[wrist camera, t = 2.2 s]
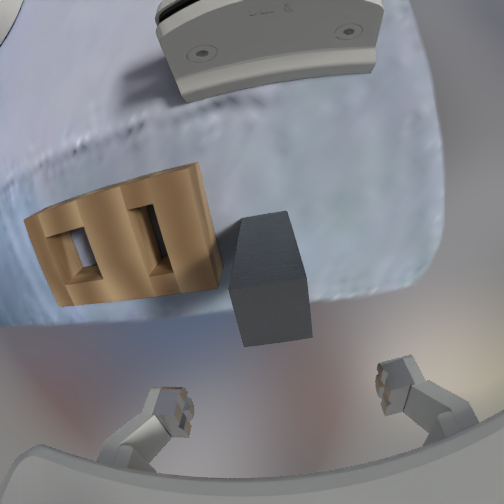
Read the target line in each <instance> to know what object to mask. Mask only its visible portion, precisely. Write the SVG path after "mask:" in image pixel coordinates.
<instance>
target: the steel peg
mask: <svg viewBox="0 0 504 504" xmlns="http://www.w3.org/2000/svg"><path fill="white" fill-rule="evenodd" d="M229 293H230V297H231V301H232V305H233V308H234V312H235V315H236V319H237V323H238V327H239V331H240V334H241V338H242V341H243V345H244V347H248V346H257V345H264V344H272V343H280V342H287V341H294V340H300V339H306V338H312V325H311V314H310V304H309V295H308V285H307V277H306V274H305V270H304V267H303V263H302V260H301V256H300V253H299V249H298V246H297V242H296V239H295V236H294V232H293V229H292V225H291V222H290V219H289V216H288V212H287V211H282V212H276V213H269V214H263V215H258V216H252V217H246V218H242V220H241V226H240V231H239V236H238V241H237V247H236V252H235V257H234V263H233V268H232V274H231V279H230V284H229Z"/></svg>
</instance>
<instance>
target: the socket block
mask: <svg viewBox="0 0 504 504" xmlns="http://www.w3.org/2000/svg"><path fill="white" fill-rule="evenodd" d="M150 204H153V206H154V209H155V213H156V216H157V220H158V223H159V227H160V230H161V233H162V237H163V240H164V243H165V246H166V250H167V253H168V256H165V257H162V255H161V252H160V249H159V246H158V243H157V240H156V236H155V233H154V230H153V227H152V223H151V220H150V216H149V213H148V209H147V206H146V205H150ZM24 223H25V226H26V229H27V232H28V234H29V237H30V240H31V243H32V245H33V248H34V251H35V253H36V256H37V258H38V261H39V263H40V266H41V268H42V270H43V273H44V275H45V277H46V279H47V282H48V284H49V286H50V288H51V290H52V293H53V295H54V297H55V299H56V301H57V303H58V305H59V307H64V306H74V305H84V304H94V303H104V302H113V301H122V300H131V299H140V298H148V297H156V296H164V295H172V294H180V293H188V292H196V291H203V290H210V289H218V286H219V282H220V278H221V274H222V270H223V264H222V260H221V256H220V252H219V248H218V244H217V240H216V236H215V232H214V227H213V223H212V219H211V215H210V211H209V207H208V202H207V198H206V194H205V190H204V185H203V181H202V177H201V172H200V168H199V163H198V162H196V163H191V164H187V165H183V166H179V167H175V168H171V169H167V170H163V171H159V172H155V173H151V174H148V175H144V176H141V177H137V178H134V179H130V180H127V181H123V182H120V183H117V184H113V185H110V186H107V187H104V188H101V189H97V190H94V191H91V192H88V193H85V194H82V195H80V196H77V197H74V198H71V199H68V200H65V201H63V202H60V203H57V204H54V205H52V206H49V207H47V208H44V209H43V210H41V211H39V212H37V213H35V214H33V215H31V216H29V217H28V218H26V219H24ZM80 227H84V229H85V231H86V234H87V237H88V240H89V243H90V246H91V248H92V251H93V254H94V256H95V259H96V262H97V264H98V265H93V266H88V267H83V265H82V263H81V260H80V258H79V255H78V252H77V250H76V247H75V244H74V242H73V239H72V236H71V233H70V230H73V229H77V228H80Z"/></svg>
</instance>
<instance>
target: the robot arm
mask: <svg viewBox="0 0 504 504" xmlns="http://www.w3.org/2000/svg"><path fill="white" fill-rule="evenodd" d="M22 2H23V0H0V44H1V43H2V41H3V40H4V38H5V37H6V35H7V33H8V32H9V30H10V28H11V26H12V25H13V23H14V21H15V19H16V16H17V14H18V12H19V10H20V7H21V5H22ZM377 370H378V375H377V376H376V381H375V383H376V391H377V394H378V397H380V398H381V399H382V401H381V406H382V409H383V412H384V415H385V416H388V415H392V414H396V413H399V412H403V413H405V414H406V415H407V416H408V417H410V418H411V419H412V420H413V421H414V422H416V423H417V424H418V425H420V426H421V427H422V428H423V429H424V430H426V431H427V432H428V433H429V435H428V437H427V439H426V441H425V442H424V444H423V446H422V447H420V448H417V449H414V450H411V451H408V452H404V453H401V454H398V455H395V456H391V457H388V458H384V459H380V460H377V461H372V462H368V463H364V464H360V465H355V466H350V467H345V468H340V469H335V470H329V471H322V472H315V473H308V474H299V475H290V476H279V477H262V478H206V477H191V476H179V475H170V474H161V473H157V472H156V471H155V469H154V468H153V467H151V466H150V465H149V463H150V462H151V460H152V459H153V458H154V457H155V456H156V455H157V454H158V453H159V452H160V451H161V449H162V448H163V447H164V446H165V445H166V444H167V443H168V441H169V440H170V439H171V437H184V438H189V435H190V431H191V424H190V423H189V421H190V420H192V419H193V416H194V404H193V401H192V399H191V398H189V397H188V396H187V393H188V392H187V390H186V388H184V387H152V388H151V389H150V392H149V394H148V397H147V400H146V402H145V405H144V408H143V410H142V413H141V414H137V415H136V416H135V417H134V418H133V419H131V420H130V421H129V422H128V423H126V424H125V425H124V426H123V427H121V428H120V429H119V430H118V431H116V432H115V433H114V434H113V435H111V436H110V437H109V438H107V439H106V440H105V441H104V444H103V446H102V449H101V451H100V453H99V456H98V458H97V461H94V460H90V459H87V458H82V457H79V456H76V455H73V454H70V453H67V452H63V451H60V450H57V449H55V448H52V447H49V446H46V445H43V444H39V445H36V446H34V447H32V448H31V449H29V450H27V451H26V452H24V453H22V454H21V455H19V456H18V457H17V458H16V459H15V460H14V462H13V463H12V465H11V466H10V468H9V469H8V471H7V473H6V475H5V477H4V479H3V481H2V483H1V485H0V504H504V410H502V411H500V412H499V413H497V414H495V415H493V416H491V417H489V418H487V419H486V420H484V421H482V422H480V423H479V421H478V419H477V417H476V415H475V413H474V411H473V409H472V408H471V406H470V404H469V402H468V401H466V400H464V399H462V398H461V397H459V396H457V395H455V394H453V393H452V392H450V391H448V390H446V389H444V388H442V387H440V386H439V385H437V384H435V383H433V382H432V381H430V380H427V381H426V380H425V378H424V376H423V374H422V372H421V370H420V368H419V366H418V365H417V363H416V361H415V359H414V357H413V356H412V355H408V356H404V357H401V358H396V359H393V360H389V361H385V362H381V363H378V365H377Z"/></svg>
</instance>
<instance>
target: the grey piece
mask: <svg viewBox="0 0 504 504" xmlns="http://www.w3.org/2000/svg"><path fill="white" fill-rule="evenodd" d="M383 14H384V9H383V6H382V3H381V0H164V1H162V2H161V3H160V5H159V7H158V10H157V13H156V17H155V22H156V24H157V28H156V34H157V37H158V40H159V43H160V45H161V48H162V50H163V52H164V55H165V57H166V60H167V62H168V64H169V67H170V69H171V71H172V74H173V76H174V78H175V81H176V83H177V86H178V88H179V91H180V93H181V96H182V97H183V99H184V100H185V101H186V102H187V103H191V102H194V101H198V100H201V99H205V98H209V97H212V96H216V95H220V94H224V93H228V92H233V91H237V90H242V89H246V88H251V87H256V86H261V85H267V84H272V83H278V82H284V81H291V80H297V79H305V78H313V77H321V76H331V75H343V74H358V73H371V72H372V70H373V68H374V66H375V64H376V55H375V46H376V42H377V38H378V34H379V30H380V26H381V22H382V18H383Z"/></svg>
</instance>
